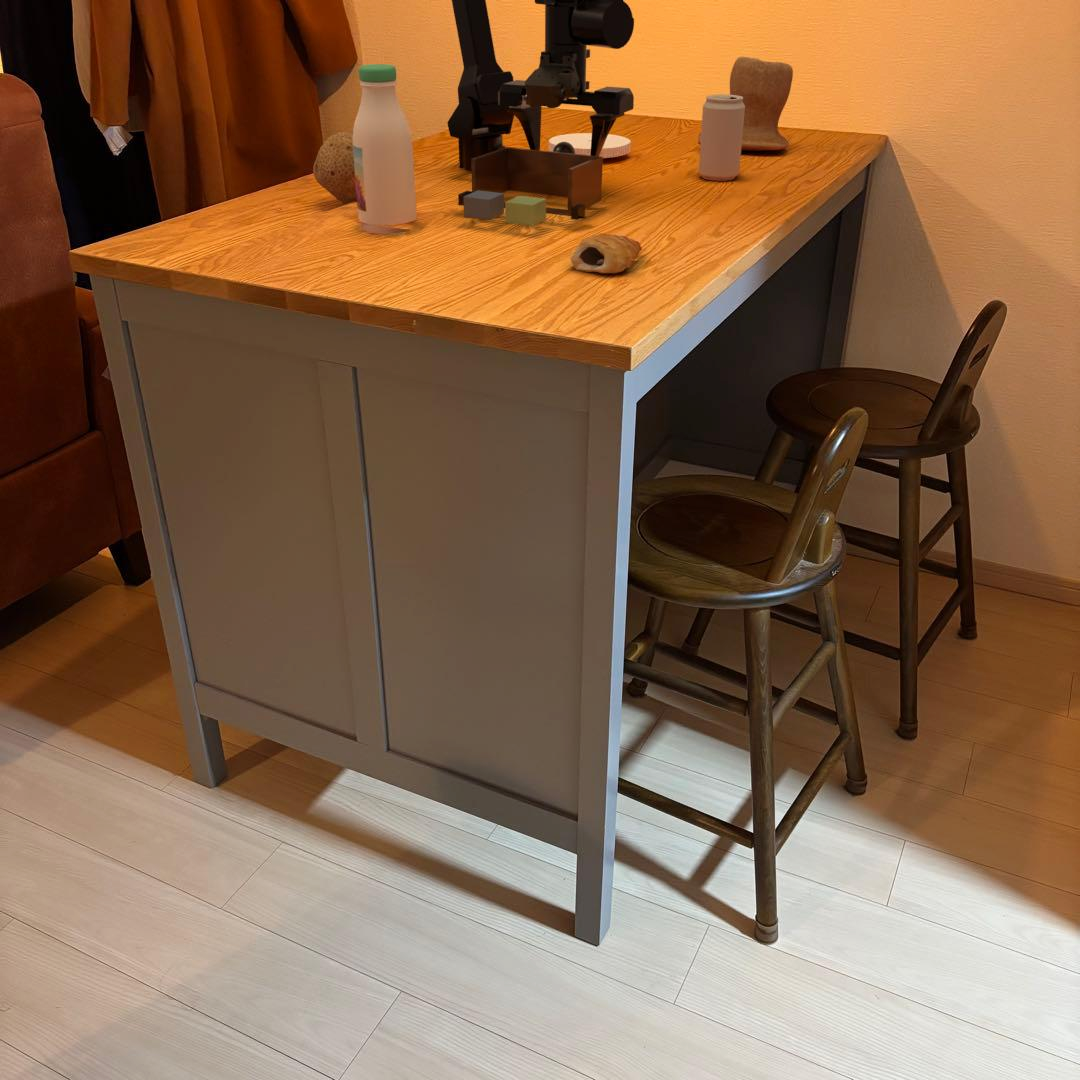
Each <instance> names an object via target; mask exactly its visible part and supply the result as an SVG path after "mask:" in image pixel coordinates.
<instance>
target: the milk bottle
mask: <svg viewBox="0 0 1080 1080" xmlns="http://www.w3.org/2000/svg"><path fill="white" fill-rule="evenodd" d="M358 77H359V78H358V79H359V85H360V86H361V100H360V105H359V108H358V111H357V114H356V117H355V120H354V124H353V129H352V134H353V157H354V170H355V183H356V195H357V201H356V206H357V217H358V221H359V223H358V225H359V227H360V229H361V230H362V231H364V232H366V233H370V234H377V235H393V234H401V233H407V232H410V231H411V229H406V228H399V227H393V226H396V225H404V224H407V223H411V222H413V221H415V220H417V218H418V215H417V214H418V213H417V212H418V211H417V195H416V181H415V180H416V178H415V162H414V150H413V149H414V148H413V138H412V131H411V127H410V125H409V121H408V119H407V117H406V115H405V114H404V111H403V109H402V107H401V105H400V102H399V100H398V96H397V92H396V86H397V84H398V83H397V69H396V66H395V65H392V64H388V63H387V64H384V63H374V64H373V63H371V64H364V65H361V66H359V67H358ZM390 226H392V227H390Z"/></svg>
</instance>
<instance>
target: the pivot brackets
mask: <svg viewBox="0 0 1080 1080" xmlns="http://www.w3.org/2000/svg"><path fill="white" fill-rule="evenodd" d="M471 193H472V190H466V191H463V192H460V193H458V194H457V196H458V202H457V204H458V206H463V207H464V196H466V195H468V194H471ZM570 219H571V220H575V221H577V220H580V219H581V220H582V219H583V220H585V219H587V216H586V209H585V205H583V204H578V205H576V206H574V207H572V208H571V216H570Z"/></svg>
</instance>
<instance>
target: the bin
mask: <svg viewBox="0 0 1080 1080" xmlns="http://www.w3.org/2000/svg"><path fill="white" fill-rule="evenodd" d="M603 162H604V158H603V157H601V156H591V155H581V154H575V150H574V147H573V146H572V145H571V144H570V143H568V142H560V143H558V144H557V145H556V146H555V147H554V150H553V152H551V151H549V150H531V149H530V148H519V147H511V146H509V147H508V146H505V148H502V149H499V150H496V151H493V152H490V153H487V154H484V155H481V156H478V157H475V158H473V159H471V169H472V171H471V191H472V193H473V192H475V191H478V190H480V191H488V192H497V193H505V192H507V191H510V192H517V193H518V192H520V193H529V194H536V195H537V194H538V195H544V196H553V197H562V198H567V209H564V208H556V207H548V206H546V214H548V215H549V214H550V215H557V216H565V217H571V208H572V207H574V206H576V205H578V204H583V205H585V210H586V209H587V208H589V207H591V206H593V205H595V204H597V203H599V202H600V201H602V190H603V189H602V188H603ZM505 202H506V201H504V209H505Z"/></svg>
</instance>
